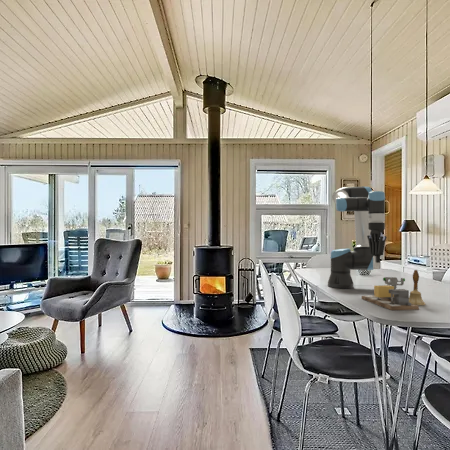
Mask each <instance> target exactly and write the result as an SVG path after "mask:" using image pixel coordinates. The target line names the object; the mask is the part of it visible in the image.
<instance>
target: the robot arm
mask: <svg viewBox="0 0 450 450" xmlns="http://www.w3.org/2000/svg"><path fill="white" fill-rule="evenodd" d="M331 200H332V201H333V202H334V204H335V209H336V211H337V212H343V213H344V212H353V214H354V230H355V231H354V233H355V236H354V237H355V246H353V250H351V248H349V247H348V248H338V249H332V250H331V251H330V273H329V274H330V275H329V277H328V281H327V286H328V287H330V288H336V289H352V288H354V282H353V277H352V275H351V271H352V270H353V271H373V270H380V269H381V256H384V252H385V244H386V240H387V236H386V235H385V236H384V230H386V228H385V227H386V226H385V225H386V223H385V221H386V213H385V211H386V209H385V208H386V195H385V191H382V190H381V191H380V190H379V191H378V190H374V191H373V189H372V188H371V186H344V187H340V188H338V189H337V190H335V191H334V192H333V193H332V199H331Z"/></svg>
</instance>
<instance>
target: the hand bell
mask: <svg viewBox="0 0 450 450" xmlns="http://www.w3.org/2000/svg"><path fill="white" fill-rule="evenodd" d="M419 280H420V275H419V271H418V269H415V270H414V271H413V273H412V281H413V290H411V291H410V292H409V302H410V303H411V304H414V305H417V306H425V305H427V304H426V303H425V302H424V299H423V298H422V293H421V291H419V290H418V288H419V287H418V286H419V285H418V283H419Z"/></svg>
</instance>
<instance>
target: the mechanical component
mask: <svg viewBox="0 0 450 450" xmlns="http://www.w3.org/2000/svg"><path fill="white" fill-rule="evenodd" d="M382 281H383V282H384V283H385V284H384V285H390V286H394V289H398V287H397V286H403V285H404V282H406V279H405V277H404V278H403V277H400V280H399V279H398V277H392V276H388V277H387V276H384V277H383V278H382Z"/></svg>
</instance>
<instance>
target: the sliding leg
mask: <svg viewBox="0 0 450 450" xmlns="http://www.w3.org/2000/svg"><path fill="white" fill-rule="evenodd" d="M373 287H374V288H373V290H374V291H373V292H374V295H373V296H376V297H377V298H379V297H391V293H389V289H394V286H392V285H387V284H384V285H374V286H373ZM393 297H394V294H393Z"/></svg>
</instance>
